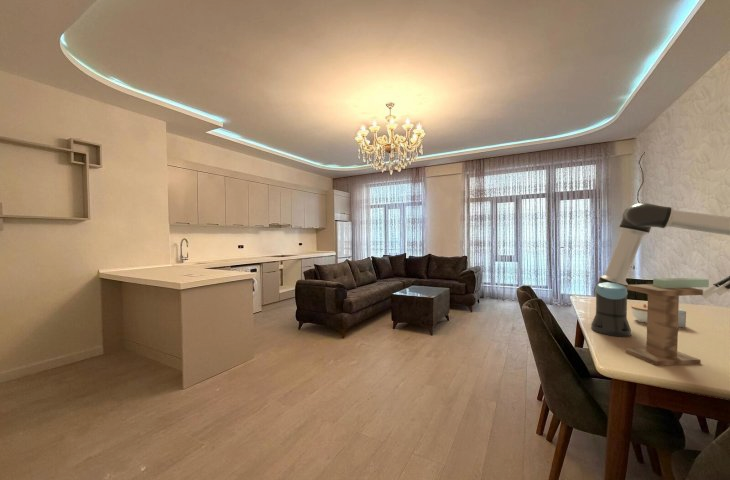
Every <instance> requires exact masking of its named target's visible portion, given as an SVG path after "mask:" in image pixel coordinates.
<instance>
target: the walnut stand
mask: <svg viewBox="0 0 730 480" xmlns="http://www.w3.org/2000/svg"><path fill="white" fill-rule="evenodd" d="M627 291H631V292H637V293H640V294H641V293H642V294H646V295H647V306H648V311H647V323H646V347H635V348H634V347H632V348H625V353H627V354H629V355H631V356H634V357H636V358H637V359H640V360H643V361H645V362H647V363H650V364H653V366H654V365H655V366H656V367H658V366H674V365H675V366H677V365H678V366H679V365H697V364H699V363H701V361H702V360H701V359H700V358H698V357H695V356H692V355H689V354H687V353H684V352H680V351H678V340H679V339H678V337H679V334H678V333H679V327H678V309H680V308H679V306H680V304H679V303H680V296H702V295H703V291H704V290H703V289H702V288H701V289H700V288H697V287H694V288H660V287H654V286H653V283H646V284H645V283H643V284H628V285H627Z"/></svg>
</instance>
